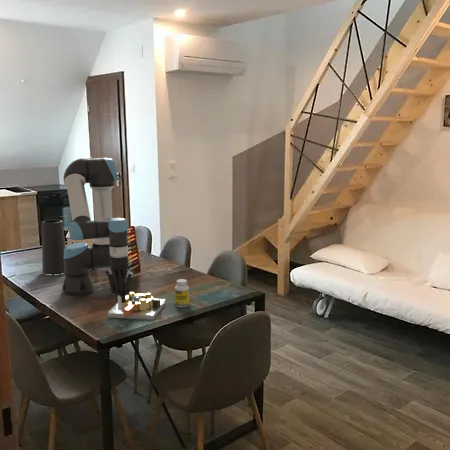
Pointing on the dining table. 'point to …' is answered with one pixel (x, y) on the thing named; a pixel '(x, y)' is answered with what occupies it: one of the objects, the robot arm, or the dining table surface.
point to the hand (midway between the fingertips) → (121, 309)
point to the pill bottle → (181, 293)
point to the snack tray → (137, 303)
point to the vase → (53, 247)
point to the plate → (139, 314)
